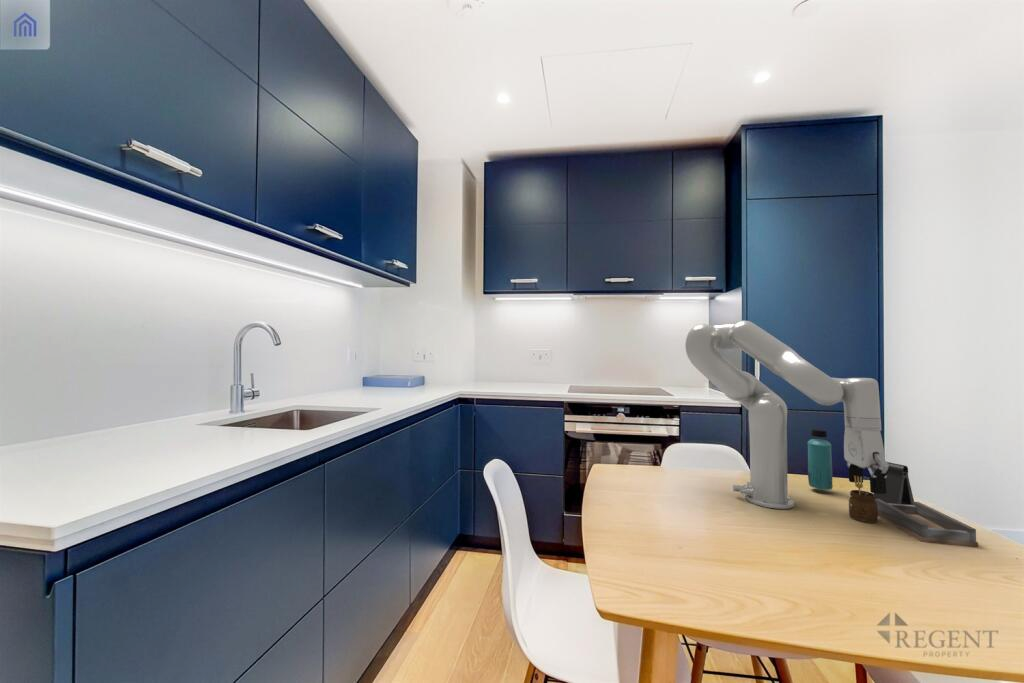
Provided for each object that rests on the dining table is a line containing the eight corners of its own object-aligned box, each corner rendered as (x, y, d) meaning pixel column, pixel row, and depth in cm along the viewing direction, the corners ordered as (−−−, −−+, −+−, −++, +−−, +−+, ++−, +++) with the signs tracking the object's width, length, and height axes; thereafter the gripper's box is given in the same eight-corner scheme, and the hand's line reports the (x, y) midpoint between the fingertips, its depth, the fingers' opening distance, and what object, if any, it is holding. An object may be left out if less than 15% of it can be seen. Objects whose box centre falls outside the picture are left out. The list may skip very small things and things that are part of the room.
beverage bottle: (838, 495, 128) (837, 431, 129) (817, 494, 129) (816, 431, 129) (822, 488, 135) (822, 427, 136) (802, 487, 135) (802, 427, 136)
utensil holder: (881, 520, 109) (880, 475, 109) (872, 525, 105) (871, 479, 106) (853, 513, 114) (852, 470, 114) (844, 517, 110) (844, 473, 111)
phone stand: (890, 498, 126) (889, 459, 126) (914, 505, 120) (914, 464, 120) (872, 502, 122) (871, 462, 123) (897, 509, 117) (896, 467, 117)
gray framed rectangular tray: (920, 541, 97) (920, 524, 97) (873, 512, 114) (872, 498, 114) (977, 546, 94) (977, 529, 94) (920, 516, 111) (919, 502, 112)
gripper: (829, 418, 119) (833, 477, 118) (865, 428, 103) (870, 497, 102) (859, 419, 118) (863, 479, 117) (901, 428, 101) (906, 498, 100)
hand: (866, 487), depth 109 cm, fingers open, 9 cm apart
